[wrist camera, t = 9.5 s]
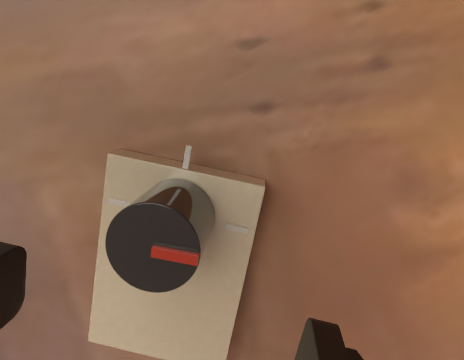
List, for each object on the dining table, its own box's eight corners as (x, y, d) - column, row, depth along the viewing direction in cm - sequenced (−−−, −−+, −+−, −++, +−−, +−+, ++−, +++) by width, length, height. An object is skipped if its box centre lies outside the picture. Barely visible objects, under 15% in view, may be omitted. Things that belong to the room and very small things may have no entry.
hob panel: (123, 126, 22) (108, 129, 20) (270, 157, 22) (271, 163, 20) (100, 323, 26) (86, 343, 24) (226, 353, 26) (222, 376, 24)
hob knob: (137, 243, 22) (98, 286, 17) (144, 172, 21) (104, 195, 16) (209, 256, 22) (192, 305, 17) (220, 185, 21) (205, 214, 15)
